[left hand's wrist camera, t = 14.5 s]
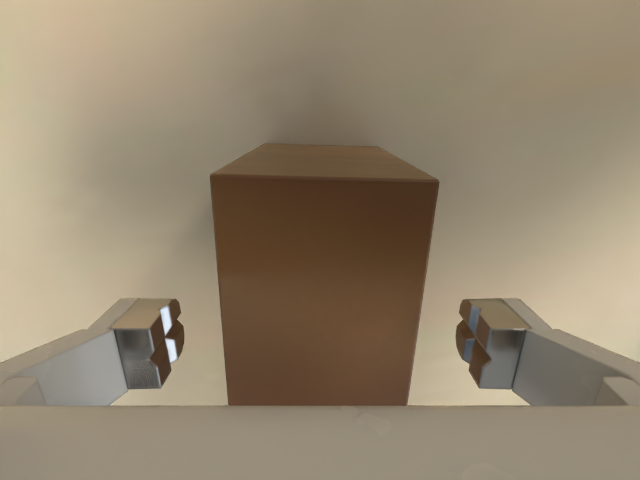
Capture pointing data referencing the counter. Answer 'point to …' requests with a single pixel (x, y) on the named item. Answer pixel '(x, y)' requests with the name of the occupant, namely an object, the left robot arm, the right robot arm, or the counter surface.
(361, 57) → the counter surface
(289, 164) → the box
